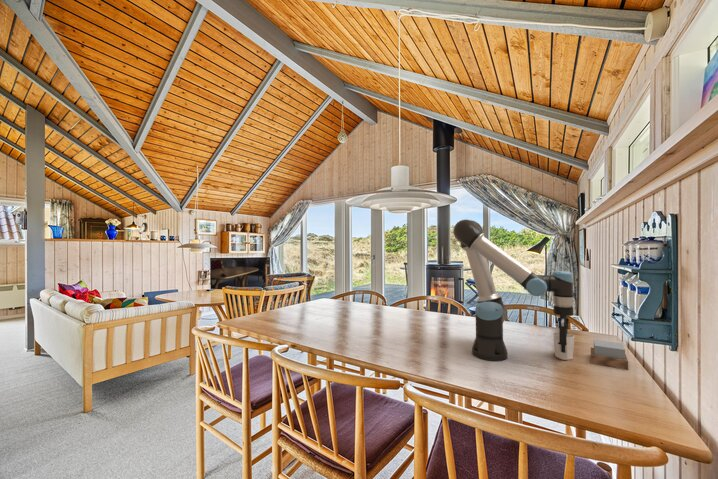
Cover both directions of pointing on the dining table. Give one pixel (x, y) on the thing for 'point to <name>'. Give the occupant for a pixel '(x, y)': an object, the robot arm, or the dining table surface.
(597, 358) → the walnut base block
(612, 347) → the slate top block
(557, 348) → the white cup
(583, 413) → the dining table surface
